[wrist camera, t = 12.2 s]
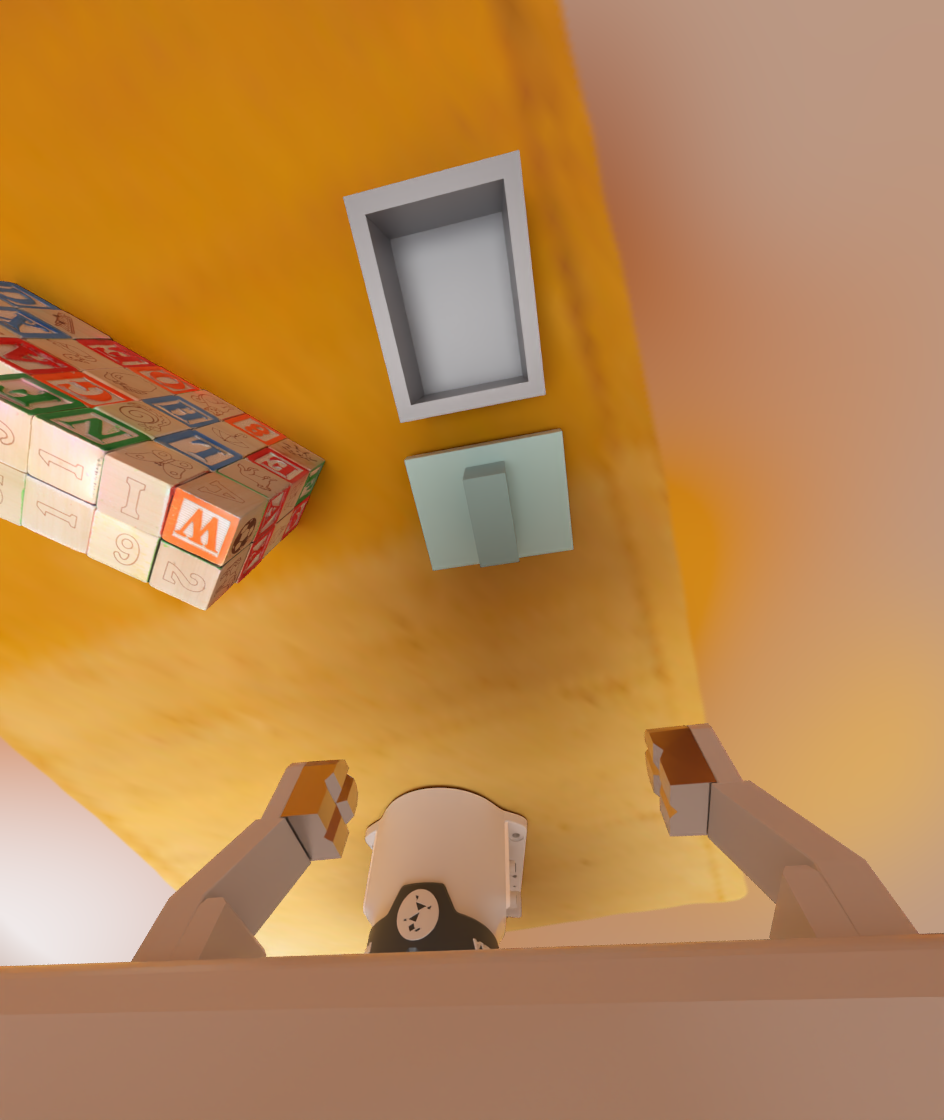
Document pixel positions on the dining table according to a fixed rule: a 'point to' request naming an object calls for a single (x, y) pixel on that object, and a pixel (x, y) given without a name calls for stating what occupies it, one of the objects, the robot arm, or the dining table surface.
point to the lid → (493, 500)
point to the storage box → (452, 286)
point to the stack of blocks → (137, 458)
